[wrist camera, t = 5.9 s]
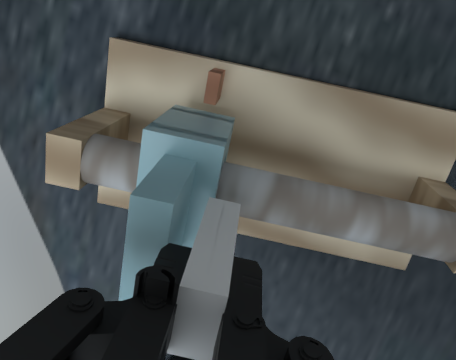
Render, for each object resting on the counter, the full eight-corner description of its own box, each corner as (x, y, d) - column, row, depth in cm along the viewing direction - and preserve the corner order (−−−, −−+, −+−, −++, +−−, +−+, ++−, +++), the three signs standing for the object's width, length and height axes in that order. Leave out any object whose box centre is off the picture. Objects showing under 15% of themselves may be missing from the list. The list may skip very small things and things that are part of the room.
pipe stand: (398, 260, 32) (452, 347, 23) (104, 195, 32) (43, 255, 23) (463, 112, 27) (563, 149, 18) (117, 37, 27) (46, 37, 18)
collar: (215, 211, 27) (181, 337, 15) (161, 200, 27) (88, 316, 15) (235, 117, 24) (211, 186, 13) (175, 104, 24) (99, 161, 13)
